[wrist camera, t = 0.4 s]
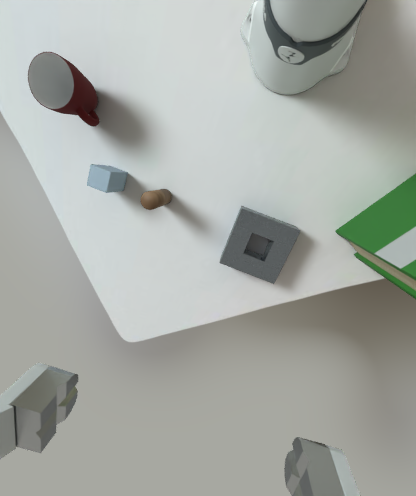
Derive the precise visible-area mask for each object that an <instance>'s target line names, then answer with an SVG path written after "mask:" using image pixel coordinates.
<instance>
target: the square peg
mask: <svg viewBox="0 0 416 496" xmlns="http://www.w3.org/2000/svg"><path fill="white" fill-rule="evenodd" d="M127 174H128V172H125V171H122V170H120V169H117V168H114V167H112V166H105V165H94V164H91V166H90V171H89V176H88V182H87V186H90V187H93V188H95V189H98V190H100V191H103V192H106V193H109V192H117V191H124V186H125V182H126V178H127Z"/></svg>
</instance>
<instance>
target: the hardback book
mask: <svg viewBox="0 0 416 496" xmlns="http://www.w3.org/2000/svg"><path fill="white" fill-rule="evenodd" d="M336 233H337V234H338V235H340V236H341V237H343V238H345V239H347V240H348V241H349V242H350V243H351V245H352V246H353V247H354V249H355V250H356V251H357V253H355V254H354V255H355V256H356V258H358V259H359V260H360V261H362V262H363V263H365V264H366V265H368V266H369V267H370V268H372V269H373V270H375V271H376V272H378V273H379V274H380V275H382V276H383V277H385V278H386V279H388V280H389V281H390V282H392V283H394V284H395V285H396V286H398V287H399V288H400V289H402V290H403V291H405V292H406V293H408V294H409V295H411V296H412V297H413V298H415V299H416V174H415V175H413V176H412V177H410V178H409V179H408V180H406V181H405V182H403V183H402V184H401V185H399V186H398V187H396V188H395V189H394V190H392V191H391V192H389V193H388V194H387V195H385V196H384V197H382V198H381V199H380V200H378V201H377V202H375V203H374V204H373V205H371V206H370V207H368V208H367V209H366V210H364V211H363V212H361V213H360V214H359V215H357V216H356V217H354V218H353V219H351V220H350V221H349V222H347V223H346V224H344V225H343V226H342V227H340V228H339V229H337V230H336Z"/></svg>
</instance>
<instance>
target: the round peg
mask: <svg viewBox="0 0 416 496" xmlns="http://www.w3.org/2000/svg"><path fill="white" fill-rule="evenodd" d="M171 199H172V195H171V193H170V191H168V190H167V189H161V190H155V191H148V192H145V193H143V194H142V196H141V204H142V206H143V207H144V208H146V209H148V210H152V209H155V208H158V207H160V206H163V205H166V204H168V203H170V201H171Z"/></svg>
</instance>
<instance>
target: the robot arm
mask: <svg viewBox="0 0 416 496" xmlns="http://www.w3.org/2000/svg"><path fill="white" fill-rule="evenodd" d="M366 2H367V0H254V2H253V4H252V6H251V7H250V9H249V11H248V13H247V15H246V17H245V19H244V21H243V23H242V26H241V36H242V38H243V40H244V42H245V43H246V45H247V46H248V48H249V51H250V57H251V62H252V66H253V69H254V72H255V74H256V76H257V77H258V79H259V80H260V82H261V83H262V84H263V85H264V86H265V87H267V88H268V89H270V90H271V91H273V92H276V93H279V94H287V95H288V94H297V93H300V92H303V91H305V90H307V89H309V88H311V87H312V86H314V85H315V84H316V83H318V82H319V81H320V80H322V79H323V78H325V77H326V76H330V75H333V74H336V73H338V72H340V71H342V70H343V69H344V68H345V66H346V65H347V63H348V59H349V56H350V52H351V49H352V45H353V41H354V38H355V34H356V31H357V27H358V23H359V20H360V16H361V13H362V10H363V8H364V6H365V4H366ZM250 20H251V23H250ZM343 55H344V56H343ZM342 56H343V57H342ZM77 382H78V375H77V374H74V373H71V372H68V371H65V370H62V369H58V368H56V367H52V366H49V365H46V364H42V363H37V364H35V365H33V366H32V367H31V368H30V369H29V370H28V371H27V372H25V373H24V374H23V375H22V376H21V377H20V378H19V379H18V380H17V381H16V382H14V383H13V384H12V385H11V386H10V387H9V388H8V389H7V390H6V391H5V392H3V393H2V394H1V395H0V459H1V458H2V457H4V456H5V455H7V454H8V453H10V452H11V451H13V450H14V449H16V447H20V448H23V449H27V450H31V451H35V452H38V453H41V452H42V451H43V449H44V448H45V447H46V445H47V444H48V443H49V441H50V440H51V439H52V437H53V436H54V434H55V433H56V425H57V424H58V423H60V422H62V421H64V420H65V419H66V418H67V416H68V415H69V414H70V412H71V410H72V408H73V406H74V404H75V402H76V399H77V392H78V391H77V389H76V387H75V385H76V384H77ZM284 469H285V482H286V487H287V488H288V490H289V492H290V493H291V495H292V496H361V495H360V493H359V490H358V487H357V485H356V482H355V480H354V477H353V474H352V472H351V469H350V467H349V464H348V462H347V459H346V456H345V454H344V452H343V451H342V450H341V449H338V448H334V447H331V446H327V445H325V444H322V443H318V442H314V441H311V440H307V439H303V438H300V437H297V438H295V439H294V441H293V450H292V451H290V452H289V453H288V454H287V457H286V460H285V468H284Z"/></svg>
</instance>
